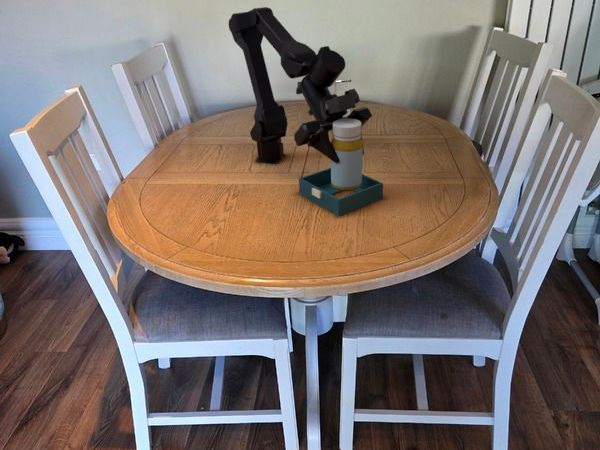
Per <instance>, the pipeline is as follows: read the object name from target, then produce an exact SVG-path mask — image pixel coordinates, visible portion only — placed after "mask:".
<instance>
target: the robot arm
mask: <svg viewBox="0 0 600 450" xmlns="http://www.w3.org/2000/svg"><path fill="white" fill-rule="evenodd" d="M228 29H229V31H230V33H231V35H232V38H233V41H234V42H235V44H236V45H237V46H238V47H239V48H240V49H241V50H242V52H243V56H244V60H245V63H246V69H247V72H248V76H249V78H250V83H251V87H252V91H253V95H254V99H255V102H256V107H255V110H254V115H253V119H254V124H253V126H252V127H251V130H250V132H249V134H250V137H251V140H252V141H254V142H256V151H257V158H256V159H255V162H258V163H266V164H278V163H279V162H280V161H281V160H282V159H283V158H284V157H285V155H286V154H285V152H284V151H285V150H284V142H282V138H285V137H287V130H288V123H289V122H288V118H287V116H286V112H285V111H286V110H285V107H284V106H283V105H282V104H281V105H280V104H279V103H278V102H276V99H275V97H274V93H273V89H272V85H271V81H270V77H269V72H268V68H267V64H266V61H265V56H264V52H263V49H262V43H263V39H264V38H265V40H267V42H268V43H269V44H270V45H271V46H272V48H273V49H274V50H275V52H276V53H277V54H278V56H279V57H280V66H281V68H282V69H283V71H284V73H285V74H286V76H287V77H288V78H289V79H297V78H302V79H301V81H298V82H297V87H296V89H295V94H296V95H302V96H303V98H304V100H305V101H306V104H307V105H308V107H309V110H308V111H307V113H308V115H309V116H313V117H314V119H315V120H311V121H307V122H303V123H301V124H300V126H299V128H297V130H296V131H295V133H294V135H293V138H294V142H295V144H296V145H297V147H301V146H302V147H303V146H305V145H306V146H307V147H308V148H310V147H311V148H313V149H314V150H316V151H318V152H319V153H320V154H323V156H325V157H327V158H328V159H329V160H330V161H331V160H332V161H333V162H335V163H336V164H338V163H339V162H340V161H339V158H338V156H337V154H336V152H335V149H334V148H333V146H332V144H331V142H330V140H329V133H328V131H331V130H333V122H334V121H336V120H339V119H347V118H348V119H356V120H359V121H360V122H361V139H362V142H363V126H364V125H365V124H366V123H367V122H368V121H369V120H370V119H371V118H372V117H373V114H372V113H371V111H370V109H369V107H365V106H363V107H359V108H357V105H356V104H359V103H360V101H361V100H360V96H359V93H358V92H357V90H356V89H355V88H352V89H348V90H345V91H344V94H342V95H337V93H336V94H334V93H333V94H332V93H331V91H330V89H329V88H330V87H332V86H334V82H335V81H336V80H337V79H339V77H340V75H341V74H342V73H343V72H344V70H345V68H346V61H345V58H344V57H343V56H342V55H341V54H340V53H338V52H337V51H335V50H332V49H331V48H330V46H329V45H325V46H321V47H320V48H319V49H318V51H317V52H315V51H314V50H313V49H312V48H311V47H310V46H309V45H307V44H306V43H303V42H301V41H298V40H296V39H295V38H294V37H293V36H292V34H291V33H290V32H289V31H288V30H287V29H286V27H284V25H283V24H282V23H281V21H279V20H278V18H277V17H276V16H275V15H274V12H273V10H272V8H270V7H268V6H263V7H255V8H253V9H250V10H248V11H243V12H235V13H232V15H231V17H230V18H229V19H228ZM355 108H356V109H355ZM348 109H350V110H351V109H353V110H352V111H350V112H351V113H350V114H349V115H348V117H346V118H343V116H344V115H346V114H347V110H348ZM363 143H364V142H363ZM364 148H365V147H363V155H365V151H364V150H365V149H364Z"/></svg>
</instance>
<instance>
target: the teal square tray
mask: <svg viewBox="0 0 600 450" xmlns="http://www.w3.org/2000/svg"><path fill="white" fill-rule="evenodd" d="M298 189H299V191H298V193H299V194H300V195H302V196H303V197H305V198H307V199H309V201H311V202H314V203H315V204H317V205H319V206H320V207H322V208H324V209H326V210H327V211H329V212H331V213H332V214H334V215H336V216H338V217H341V216H343V215H346V214H348V213H350V212H353V211H356V210H358V209H361V208H363V207H365V206H369V205H371V204H373V203H376V202H378V201H380V200H383V197H384V183H383V182H381V181H379V180H377V179H374V178H372V177H370V176H368V174H366V173H364V172H362V183H361V186H360V187H359V188H358V189H356V190H353V193H350V194H348V195H345V196H341V197H340V198H339V197H337V196H335V194H338V193H341V192H342V191H340V190H337V189H335V188H334V187H333V186H332V184H331V167H329V168H326V169H322V170H320V171H317V172H313V173H310V174H308V175H305V176H302V177H299V178H298Z"/></svg>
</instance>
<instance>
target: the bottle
mask: <svg viewBox="0 0 600 450" xmlns="http://www.w3.org/2000/svg"><path fill="white" fill-rule="evenodd" d="M362 141H363V138H362V139H361V122H360V121H359V120H356V119H348V118H347V119H339V120H336V121H334V122H333V139H332V142H331V144H332V146H333V148H334V149H335V152H336V154H337V156H338V158H339V161H340V162H339V163H338V164H336V163H335V162H333V161H332V160H331V159H330V168H331V184H332V186H333V187H334V188H335V189H337V190H340V191H341V192H352V191H353V190H356V189H358V188H359V187H360V186H361V183H362V173H363V157H364V154H363V148H364V142H362ZM353 192H354V191H353Z"/></svg>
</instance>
